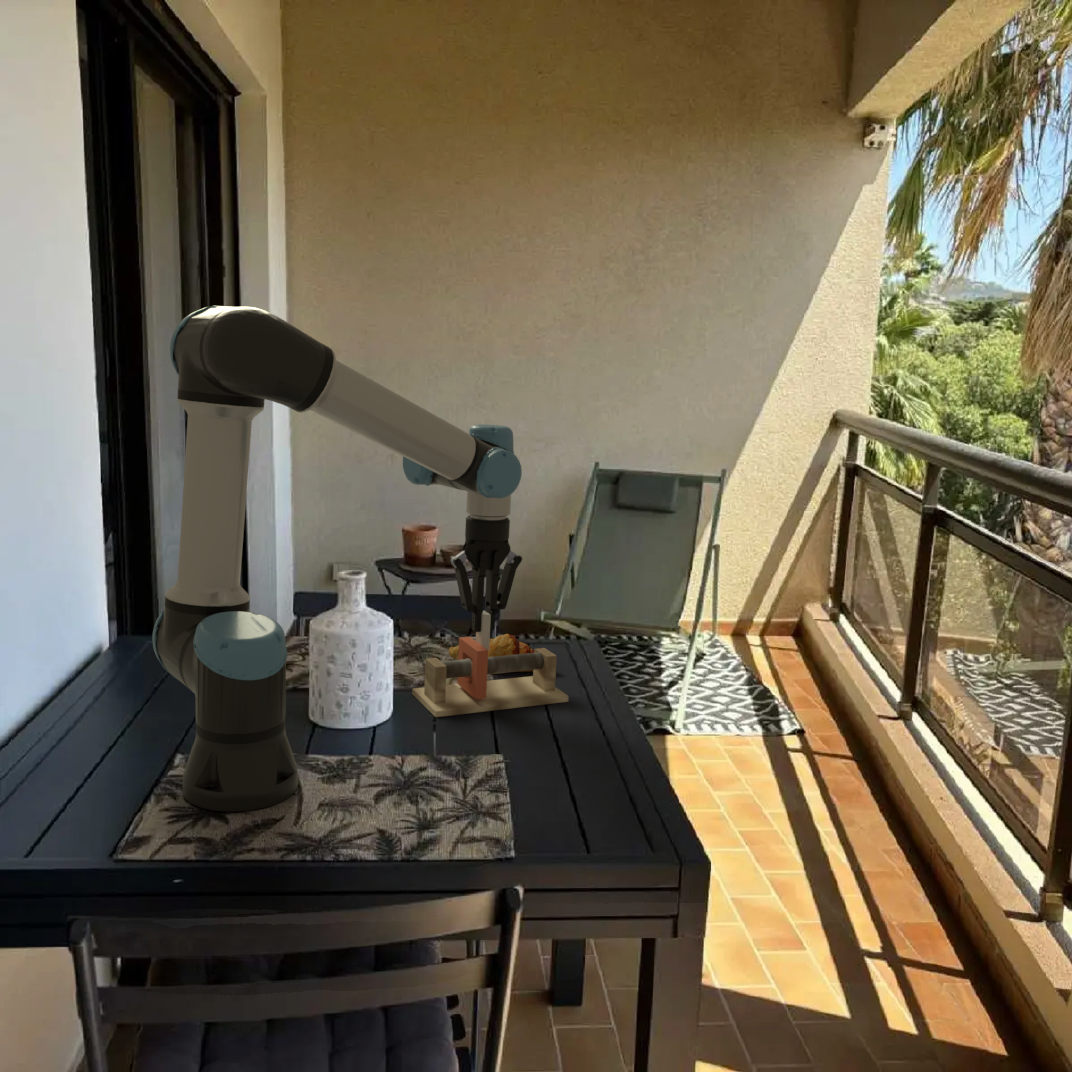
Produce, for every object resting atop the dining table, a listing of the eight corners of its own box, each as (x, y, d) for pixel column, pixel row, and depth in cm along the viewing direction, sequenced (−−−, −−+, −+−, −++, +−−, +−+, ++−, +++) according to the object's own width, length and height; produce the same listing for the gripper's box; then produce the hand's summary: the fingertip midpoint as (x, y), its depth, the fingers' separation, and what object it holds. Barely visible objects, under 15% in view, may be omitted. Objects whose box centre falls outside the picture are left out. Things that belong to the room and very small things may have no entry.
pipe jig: (538, 680, 189) (540, 641, 188) (568, 701, 179) (570, 660, 178) (412, 693, 179) (413, 652, 177) (435, 717, 168) (437, 673, 167)
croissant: (443, 681, 197) (438, 651, 192) (456, 645, 205) (452, 616, 200) (549, 691, 193) (547, 662, 188) (559, 655, 201) (557, 625, 196)
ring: (467, 682, 181) (469, 636, 179) (486, 697, 174) (488, 650, 172) (457, 683, 180) (459, 637, 179) (475, 698, 173) (477, 651, 171)
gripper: (513, 511, 178) (507, 640, 182) (444, 513, 172) (439, 645, 177) (531, 518, 171) (525, 652, 176) (460, 520, 166) (455, 658, 170)
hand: (482, 648), depth 176 cm, fingers closed
